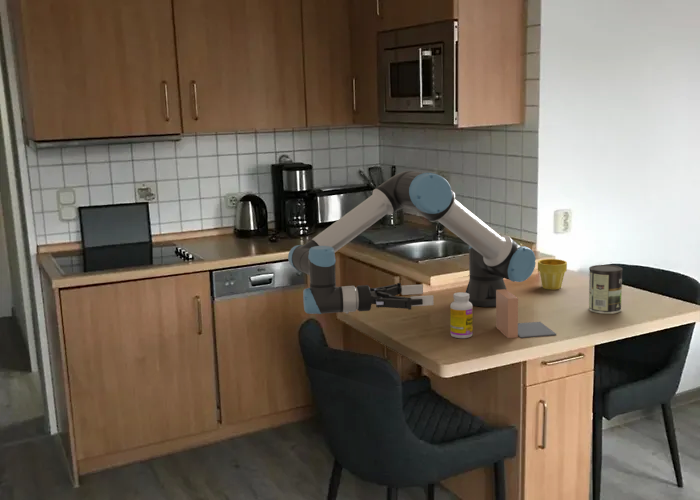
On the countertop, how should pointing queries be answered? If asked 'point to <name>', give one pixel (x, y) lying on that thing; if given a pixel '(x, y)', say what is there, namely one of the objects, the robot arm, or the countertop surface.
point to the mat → (533, 330)
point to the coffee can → (605, 289)
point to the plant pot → (552, 273)
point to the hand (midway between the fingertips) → (427, 294)
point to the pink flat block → (507, 313)
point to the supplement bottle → (461, 316)
